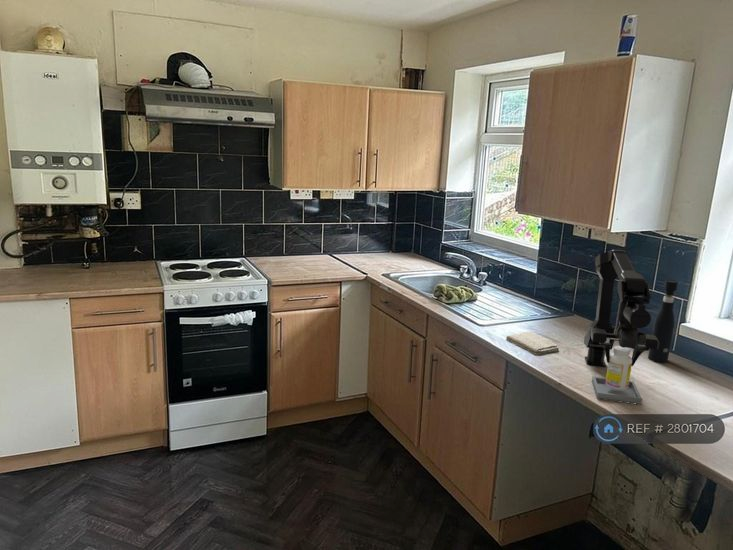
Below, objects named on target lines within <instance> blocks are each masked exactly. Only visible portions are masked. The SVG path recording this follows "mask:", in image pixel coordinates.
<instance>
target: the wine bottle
mask: <svg viewBox="0 0 733 550" xmlns="http://www.w3.org/2000/svg"><path fill="white" fill-rule="evenodd" d="M678 284H679V282H678V281H677V280H675V279H666V280H665V282H664V290H665V294H664V296H663V299H662V301H661V307H660V309H659V311H658V313H657V314H656V316H655V318H654V321H653V326H652V327H653V328H652V332H651V333H652V334H651V335H655V337H656V338H657V339H658V341H659V348H658V349H657V350H656V349H649V351H648V355H647V358H648V360H649V361H652V362H654V363H658V362H659V363H660V364H665V363H666V364H667V362H668V359H669V354H670V351H671V344H672V339H673V334H674V327H675V314H674V311H673V310H674V304H675V302H674V299H675V297H674V293H675V292H676V291H677V289H678Z"/></svg>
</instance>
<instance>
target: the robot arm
mask: <svg viewBox="0 0 733 550" xmlns="http://www.w3.org/2000/svg"><path fill="white" fill-rule="evenodd" d="M594 263H595V264H594V267H595V272H596V273H597V275H598V277H599V284H598V285H599V287H598V292H597V293H598V295H597V302H596V303H597V304H596V313H595V318H594V319H593V322H591V323H590V325H589V330H588V331H587V333H586V334H585V335H584V337H583V338H584V339H583V344H584V346H585V347H586V348H588V349H587V355H586V356H584V359H585V363H586V365H589V366H590V365H591V366H597V367H599V366H600V367H605V368H607V364H608V363H609V359H610V355H611V350H613V348H614V344H615V341H618V346H621V347H623V348H625V347H627V348H629V349H633V351H632V356H631V358H632V366H631V367H633V366H634V365H635V364H636V362H637V361H638V359H639V358H640V356H641V355H642V354H643V353H644V352H647V351H648V352H649V349H656V350H657V349H658V348H659V341H658V339H657V338H656V337H655V335H652V334H648V333H646V332H641V331H638V329H644V328H646V327H647V326H648V325H650V323H651V321H652V316H651V314H650V312H649V311H648V310H647V309H646V305H650V299H651V293H650V287H649V284H648V281H646V279H645V277H644V276H643V275H642V274H640V273H637V272H636V271H635V269H634V268H633V265H632V263H631V261H630V260H629V257H628V252H627V251H625V250H623V249H621V250H620V249H611V250H609V251H607V252H602V253H599V254H598V255H597V256H596V257H595V260H594ZM617 278H618V281H617V292H618V298H619V302H618V310H617V315H616V322H615V327H613V326H612V324H611V314H612V304H613V297H614V296H613V295H614V288H615V281H616V280H617ZM645 304H646V305H645ZM605 358H606V361H605ZM606 363H607V364H606Z"/></svg>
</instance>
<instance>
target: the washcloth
mask: <svg viewBox="0 0 733 550" xmlns="http://www.w3.org/2000/svg"><path fill="white" fill-rule="evenodd" d="M505 339H506V340H507V341H509V342H510V343H512V344H514V345H516V346H518V347H520V348H522V349H524V350H527V351H528V352H530V353H532V354H533V353H534V354H533V355H535V354H537V355H545V354H549V353H556V352H558V351H559V350H560V349H559V347H558V344H556V343H554V342H553V341H552V340H551V339H549V338H546V337H544V336H541V335H539V334H538V333H534V332H533V331H524V332H521V333H515V334H510V335H507V336H506V337H505Z"/></svg>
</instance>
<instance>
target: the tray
mask: <svg viewBox="0 0 733 550" xmlns="http://www.w3.org/2000/svg"><path fill="white" fill-rule="evenodd" d="M591 384H592V387H593V391H594V394H596V395H595V396H596V397H597V398H600V399H599V400H603V399H607V400H606V401H610V400H613V401H612V402H617V401H622V402H621V403H624V402H629V403H628V404H631V403H636V404H635V405H638V404H641V405H642V401H643V398H642V396H641V394H640V392H639V389H638V387H637V386H636V384H635V381H633V380H632V381H631V380H629V385H628V388H627V389H626V390H616V389H612V388H610V387H608V386H607V385H606V377H602V376H594V375H592V377H591ZM597 398H596V399H597Z"/></svg>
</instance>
